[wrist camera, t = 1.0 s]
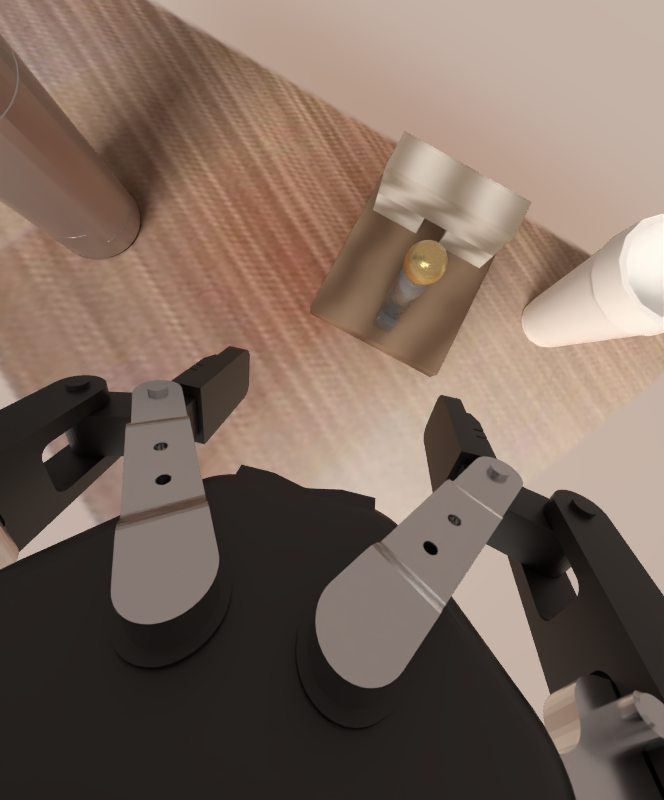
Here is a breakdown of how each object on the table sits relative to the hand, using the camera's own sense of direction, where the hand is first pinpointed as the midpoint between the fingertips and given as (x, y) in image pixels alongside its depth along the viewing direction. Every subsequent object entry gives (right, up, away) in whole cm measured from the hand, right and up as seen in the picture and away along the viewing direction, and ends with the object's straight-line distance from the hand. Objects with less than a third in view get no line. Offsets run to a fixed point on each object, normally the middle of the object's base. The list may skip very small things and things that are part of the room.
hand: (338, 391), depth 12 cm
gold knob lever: (+7, +12, +21) cm, 25 cm away
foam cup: (+26, +9, +24) cm, 37 cm away
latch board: (+8, +14, +23) cm, 28 cm away
